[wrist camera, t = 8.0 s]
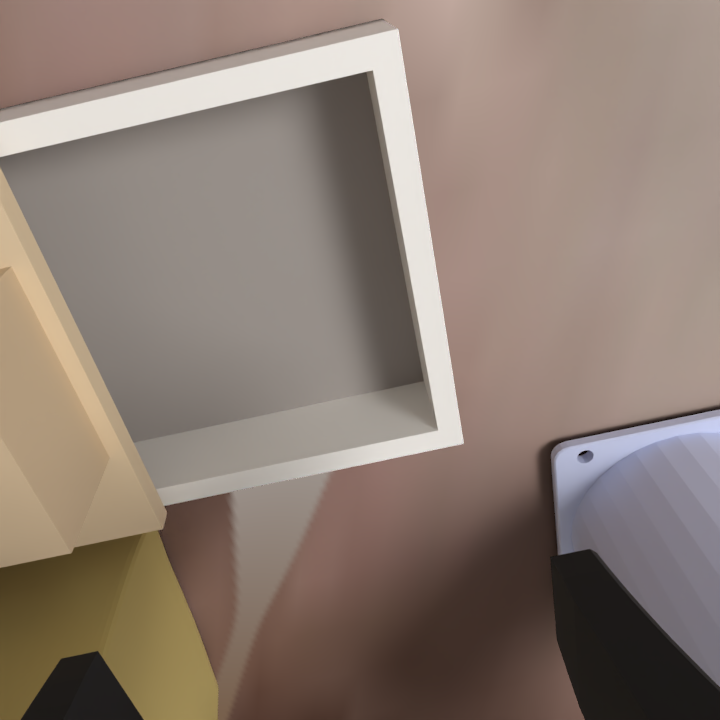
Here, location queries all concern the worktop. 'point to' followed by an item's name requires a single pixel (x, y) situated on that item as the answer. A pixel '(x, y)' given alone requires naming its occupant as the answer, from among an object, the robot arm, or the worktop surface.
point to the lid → (57, 420)
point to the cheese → (105, 628)
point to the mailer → (247, 258)
